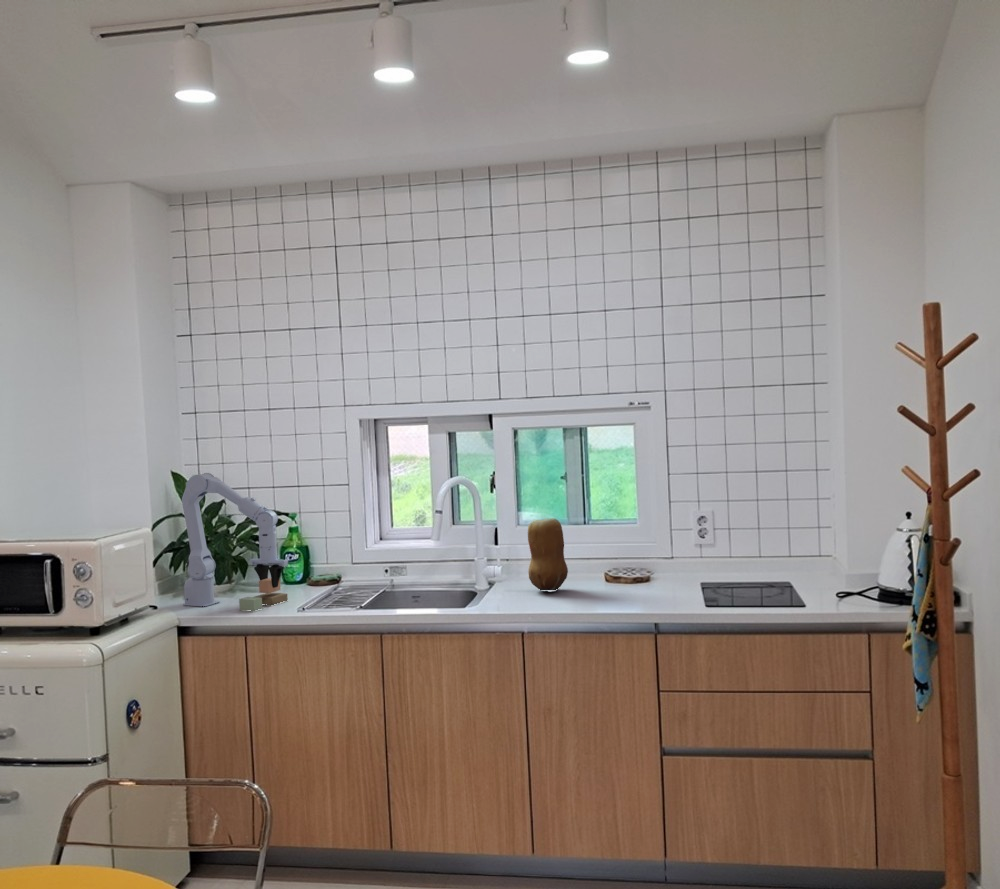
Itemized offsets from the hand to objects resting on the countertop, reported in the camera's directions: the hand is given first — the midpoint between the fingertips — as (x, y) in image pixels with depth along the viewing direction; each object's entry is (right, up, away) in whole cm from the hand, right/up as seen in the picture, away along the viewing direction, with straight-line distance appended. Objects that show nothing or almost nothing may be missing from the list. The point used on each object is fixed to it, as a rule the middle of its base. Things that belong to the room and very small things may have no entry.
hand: (269, 586), depth 320 cm
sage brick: (-3, -6, -11) cm, 13 cm away
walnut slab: (0, -6, 0) cm, 6 cm away
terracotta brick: (0, -1, 0) cm, 1 cm away
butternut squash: (+94, -2, +2) cm, 94 cm away
